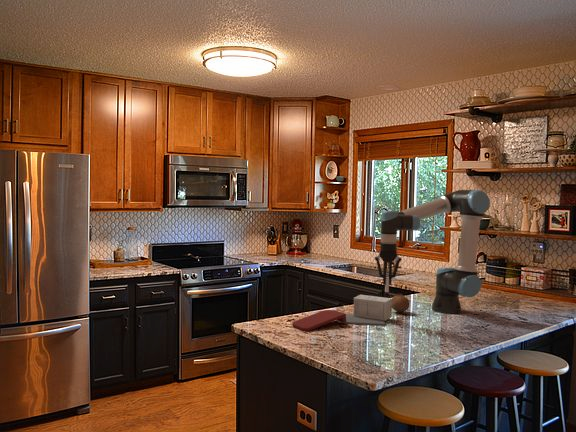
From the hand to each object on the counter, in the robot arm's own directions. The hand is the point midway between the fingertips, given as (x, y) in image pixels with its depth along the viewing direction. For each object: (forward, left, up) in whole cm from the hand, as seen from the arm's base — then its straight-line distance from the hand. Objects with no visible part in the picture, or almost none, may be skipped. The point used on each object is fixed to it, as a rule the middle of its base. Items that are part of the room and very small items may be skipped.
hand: (386, 291), depth 251 cm
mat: (0, -11, -15) cm, 18 cm away
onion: (-20, +9, -15) cm, 27 cm away
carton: (+13, -32, -14) cm, 37 cm away
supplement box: (-2, +2, -9) cm, 9 cm away
